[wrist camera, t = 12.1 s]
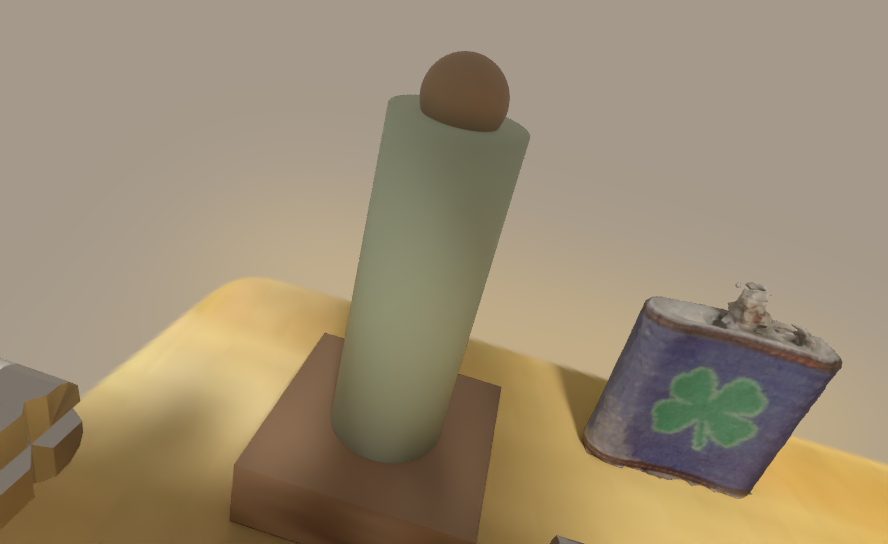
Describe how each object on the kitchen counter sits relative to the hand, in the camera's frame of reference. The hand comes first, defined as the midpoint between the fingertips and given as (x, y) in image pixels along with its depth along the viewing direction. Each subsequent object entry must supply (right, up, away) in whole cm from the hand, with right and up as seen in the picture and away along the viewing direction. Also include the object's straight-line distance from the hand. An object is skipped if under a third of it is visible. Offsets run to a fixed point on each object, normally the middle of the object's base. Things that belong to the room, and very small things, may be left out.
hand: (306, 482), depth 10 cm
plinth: (-1, -5, +17) cm, 17 cm away
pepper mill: (0, -3, +15) cm, 15 cm away
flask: (+14, -7, +22) cm, 27 cm away
